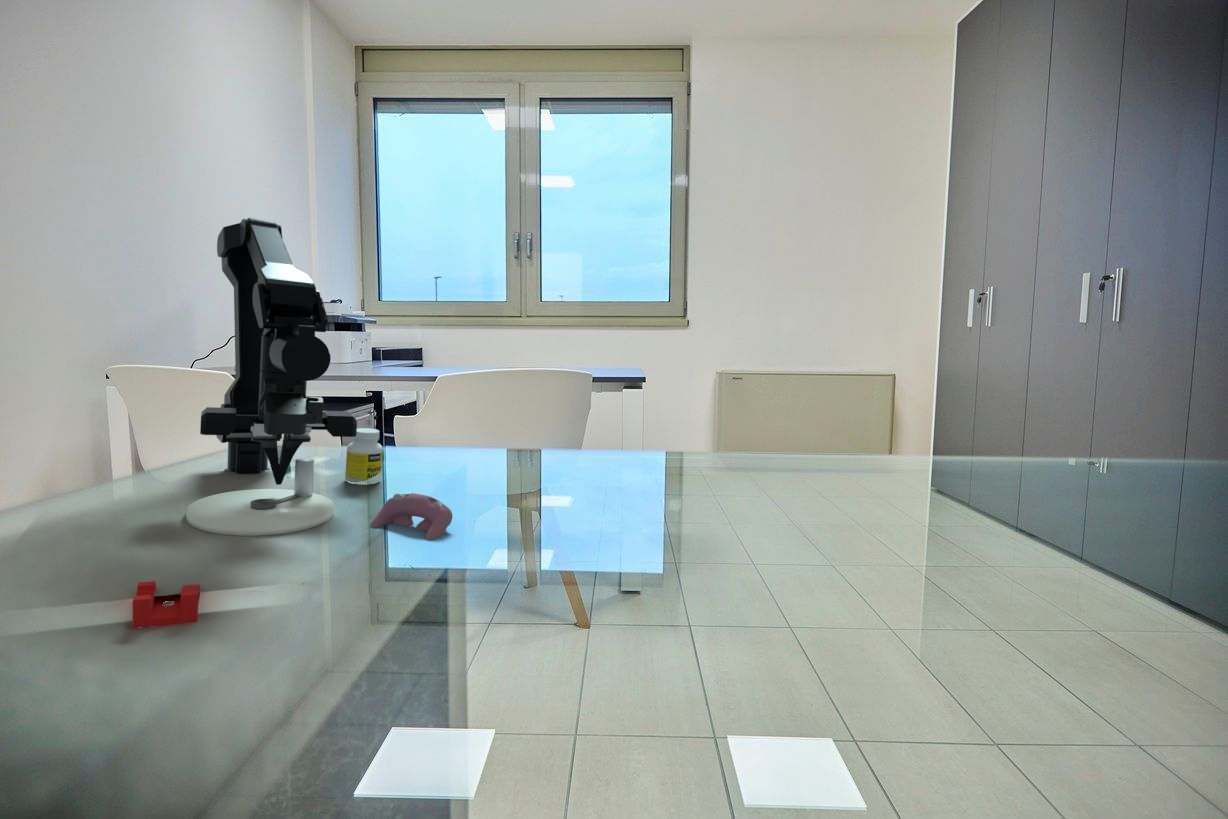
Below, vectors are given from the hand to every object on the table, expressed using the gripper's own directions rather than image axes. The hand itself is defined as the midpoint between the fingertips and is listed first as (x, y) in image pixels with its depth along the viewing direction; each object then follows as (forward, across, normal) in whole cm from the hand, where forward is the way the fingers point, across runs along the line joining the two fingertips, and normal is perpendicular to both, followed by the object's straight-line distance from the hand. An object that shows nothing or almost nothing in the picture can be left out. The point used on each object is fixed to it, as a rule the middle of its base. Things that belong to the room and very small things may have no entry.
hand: (278, 484), depth 93 cm
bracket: (+5, -11, -28) cm, 31 cm away
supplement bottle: (+4, +13, +10) cm, 17 cm away
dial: (+3, -2, -5) cm, 6 cm away
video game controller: (+4, +15, -14) cm, 21 cm away
